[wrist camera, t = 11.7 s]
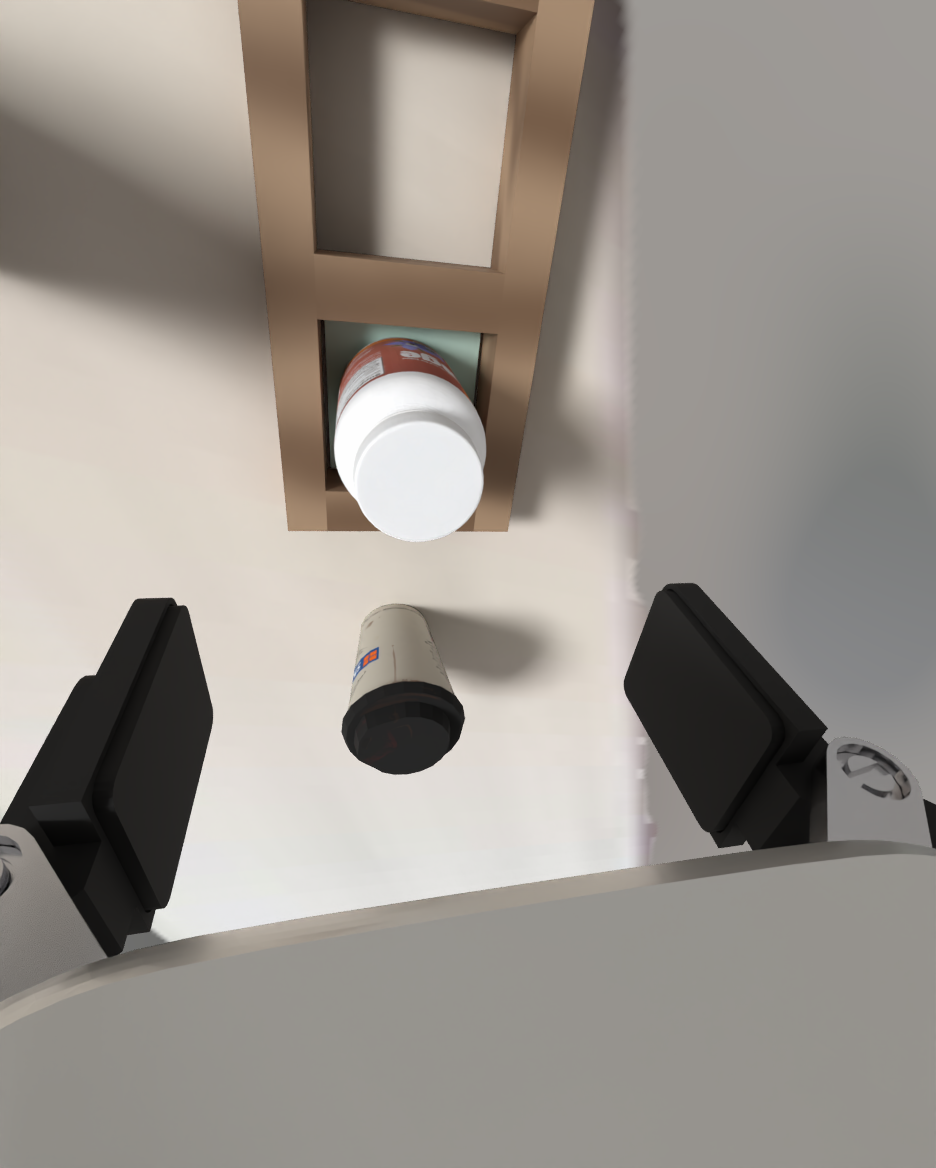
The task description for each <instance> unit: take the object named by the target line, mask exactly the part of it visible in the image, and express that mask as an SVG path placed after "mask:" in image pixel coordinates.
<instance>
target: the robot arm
mask: <svg viewBox="0 0 936 1168" xmlns="http://www.w3.org/2000/svg"><path fill="white" fill-rule="evenodd" d="M624 690H625V694H626V696H627V698H628V700H629V701H630V703H631V705H632V707H633V708H634V710H635V712H636V714H637V715H638V717H639V719H640V721H641V722H642V724H643V726H644V728H645V730H646V731H647V733H648V735H649V737H650V738H651V740H652V742H653V744H654V745H655V747H656V749H657V751H658V753H659V754H660V756H661V758H662V759H663V761H664V763H665V765H666V767H667V768H668V770H669V772H670V774H671V775H672V777H673V779H674V781H675V782H676V784H677V786H678V788H679V790H680V791H681V793H682V795H683V797H684V798H685V800H686V802H687V804H688V805H689V807H690V809H691V811H692V813H693V814H694V816H695V818H696V820H697V821H698V823H699V825H700V826H701V828H702V829H703V830H705V831H706V832H710V834H711V836H712V837H713V839H714V841H715V843H716V844H717V846H718V848H724V847H731V846H738V845H743V844H744V842H745V841H746V840H747V842H748V844H749V845H750V847H751V848H752V850H753V851H746V852H739V853H732V854H726V855H718V856H712V857H704V858H697V859H690V860H683V861H677V862H670V863H662V864H656V865H648V866H641V867H635V868H628V869H621V870H614V871H607V872H601V873H594V874H587V875H581V876H574V877H567V878H560V879H554V880H547V881H540V882H534V883H527V884H520V885H514V886H507V887H500V888H494V889H487V890H481V891H474V892H467V893H461V894H454V895H448V896H441V897H435V898H428V899H422V900H415V901H409V902H403V903H396V904H390V905H383V906H377V907H370V908H364V909H357V910H351V911H344V912H338V913H332V914H325V915H319V916H312V917H306V918H300V919H294V920H288V921H283V922H277V923H271V924H265V925H259V926H254V927H248V928H242V929H236V930H230V931H224V932H219V933H213V934H207V935H201V936H196V937H191V938H187V939H182V940H177V941H173V942H168V943H164V944H159V945H155V946H151V947H145V948H141V949H136V950H133V951H129V952H126V953H123V954H120V953H121V952H122V951H123V948H124V944H125V941H126V937H127V935H131V934H137V933H144V932H150V929H151V926H152V922H153V918H154V914H155V910H156V909H162V908H165V907H166V906H167V904H168V902H169V899H170V896H171V892H172V888H173V884H174V880H175V876H176V871H177V867H178V863H179V859H180V855H181V851H182V847H183V843H184V839H185V835H186V831H187V827H188V823H189V818H190V814H191V810H192V806H193V802H194V798H195V794H196V790H197V786H198V782H199V778H200V774H201V770H202V766H203V761H204V757H205V753H206V749H207V745H208V741H209V737H210V733H211V729H212V724H213V708H212V704H211V700H210V695H209V691H208V687H207V683H206V679H205V675H204V671H203V667H202V663H201V659H200V655H199V651H198V647H197V643H196V639H195V635H194V631H193V627H192V623H191V619H190V615H189V611H188V608H187V607H186V606H184V605H182V606H177V604H176V602H175V600H174V599H173V598H146V599H136V600H135V601H134V602H133V604H132V606H131V608H130V610H129V611H128V613H127V615H126V617H125V619H124V621H123V623H122V625H121V627H120V629H119V631H118V633H117V635H116V637H115V639H114V641H113V643H112V645H111V647H110V648H109V650H108V652H107V654H106V656H105V658H104V660H103V662H102V664H101V666H100V668H99V670H98V672H97V674H96V675H91V676H84V677H83V678H81V679H80V680H79V681H78V683H77V684H76V685H75V687H74V689H73V690H72V692H71V694H70V696H69V698H68V700H67V701H66V703H65V705H64V707H63V709H62V711H61V712H60V714H59V716H58V718H57V720H56V722H55V723H54V725H53V727H52V729H51V731H50V733H49V734H48V736H47V738H46V740H45V742H44V744H43V745H42V747H41V749H40V751H39V753H38V755H37V757H36V758H35V760H34V762H33V764H32V766H31V768H30V769H29V771H28V773H27V775H26V777H25V779H24V780H23V782H22V784H21V786H20V788H19V790H18V791H17V793H16V795H15V797H14V799H13V801H12V802H11V804H10V806H9V808H8V810H7V812H6V813H5V815H4V817H3V819H2V821H1V823H0V1168H936V805H935V804H933V803H931V802H929V801H927V800H925V799H923V796H922V791H921V788H920V786H919V783H918V781H917V779H916V778H915V776H914V775H913V774H912V773H911V771H910V770H909V769H908V768H907V767H906V766H905V765H904V764H903V763H902V762H901V761H900V760H899V759H898V758H896V757H895V756H893V755H892V754H890V753H889V752H887V751H886V750H884V749H883V748H880V747H879V746H876V745H874V744H872V743H870V742H868V741H864V740H861V739H857V738H851V737H841V738H836V739H834V740H833V741H831V742H830V743H829V744H828V743H827V742H826V741H825V740H824V739H823V738H822V735H823V734H824V733H825V731H826V730H827V729H828V728H827V727H826V726H825V725H824V723H823V722H822V721H821V720H820V719H819V718H818V717H817V716H816V715H815V714H814V712H813V711H812V710H811V709H810V708H809V707H808V706H807V705H806V704H805V703H804V701H803V700H802V699H801V698H800V697H799V696H798V695H797V694H796V693H795V692H794V691H793V689H792V688H791V687H790V686H789V685H788V684H787V683H786V682H785V681H784V679H783V678H782V677H781V676H780V675H779V674H778V673H777V672H776V671H775V670H774V668H773V667H772V666H771V665H770V664H769V663H768V662H767V661H766V660H765V659H764V658H763V656H762V655H761V654H760V653H759V652H758V651H757V650H756V649H755V648H754V646H753V645H752V644H751V643H750V642H749V641H748V640H747V639H746V638H745V637H744V635H743V634H742V633H741V632H740V631H739V630H738V629H737V628H736V627H735V626H734V624H733V623H732V622H731V621H730V620H729V619H728V618H727V617H726V616H725V615H724V613H723V612H722V611H721V610H720V609H719V608H718V607H717V606H716V605H715V604H714V602H713V601H712V600H711V599H710V598H709V597H708V596H707V595H706V594H705V593H704V592H703V590H702V589H701V588H700V587H699V586H698V585H696V584H693V583H681V584H680V583H678V584H668V585H666V586H665V587H664V588H663V590H662V591H659V592H658V593H657V594H656V596H655V598H654V601H653V604H652V606H651V609H650V612H649V614H648V617H647V620H646V622H645V625H644V628H643V630H642V633H641V636H640V638H639V641H638V644H637V646H636V649H635V652H634V654H633V657H632V660H631V662H630V665H629V668H628V671H627V673H626V676H625V679H624Z"/></svg>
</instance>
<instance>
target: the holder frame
mask: <svg viewBox="0 0 936 1168" xmlns="http://www.w3.org/2000/svg"><path fill="white" fill-rule="evenodd" d="M347 1H352V2H357V3H362V4H367V5H372V6H377V7H382V8H387V9H392V10H397V11H402V12H407V13H412V14H417V15H421V16H426V17H431V18H436V19H441V20H446V21H451V22H456V23H461V24H466V25H471V26H476V27H481V28H486V29H491V30H496V31H501V32H506V33H510V34H515V35H516V40H515V49H514V58H513V67H512V77H511V86H510V95H509V104H508V113H507V122H506V131H505V140H504V149H503V159H502V168H501V177H500V186H499V195H498V204H497V213H496V222H495V232H494V241H493V250H492V259H491V268H488V267H479V266H469V265H460V264H451V263H442V262H432V261H423V260H414V259H404V258H395V257H386V256H377V255H367V254H358V253H349V252H340V251H330V250H321V249H317V231H316V209H315V187H314V165H313V144H312V122H311V100H310V78H309V56H308V34H307V12H306V0H238V9H239V19H240V30H241V40H242V51H243V61H244V72H245V82H246V93H247V103H248V114H249V124H250V135H251V145H252V156H253V166H254V177H255V187H256V198H257V208H258V219H259V229H260V240H261V250H262V261H263V271H264V282H265V292H266V303H267V313H268V323H269V334H270V344H271V355H272V365H273V376H274V386H275V397H276V407H277V418H278V428H279V439H280V449H281V460H282V470H283V481H284V491H285V502H286V512H287V523H288V531H380V530H379V529H377V528H376V527H375V526H374V525H373V524H372V523H371V522H370V521H369V520H368V519H367V518H366V516H365V515H364V514H363V512H362V510H361V509H360V506H359V504H358V502H357V500H356V499H355V498H354V497H353V496H352V495H351V494H350V493H349V491H348V490H347V488H346V487H345V485H344V483H343V482H342V480H341V477H340V475H339V473H338V469H333V468H327V450H326V428H325V406H324V384H323V362H322V340H321V320H325V341H326V365H327V389H328V413H329V437H330V461H331V467H337V466H336V461H335V454H334V438H335V429H336V418H337V406H338V394H339V387H340V381H341V378H342V375H343V373H344V371H345V368H346V367H347V365H348V363H349V362H350V360H351V359H352V358H353V357H354V356H355V355H356V353H358V352H359V351H360V350H361V349H362V348H364V347H365V346H367V345H368V344H370V343H372V342H375V341H377V340H381V339H384V338H390V337H403V338H409V339H412V340H416V341H419V342H421V343H423V344H425V345H427V346H429V347H430V348H432V349H433V350H435V351H436V352H437V353H438V354H439V355H440V356H441V357H442V358H443V359H444V360H445V361H446V363H447V364H448V365H449V367H450V368H451V370H452V372H453V373H454V375H455V377H456V378H457V380H458V381H459V383H460V384H461V386H462V388H463V389H464V391H465V392H466V394H467V396H468V397H469V399H470V401H471V402H472V404H473V401H474V392H475V383H476V373H477V364H478V355H479V345H480V336H481V333H483V341H482V350H481V359H480V368H479V377H478V387H477V396H476V405H475V409H476V411H477V413H478V415H479V417H480V420H481V422H482V425H483V428H484V433H485V438H486V459H485V465H484V468H483V475H484V484H483V491H482V495H481V499H480V502H479V504H478V506H477V508H476V510H475V511H474V513H473V514H472V516H471V517H470V518H469V519H468V520H467V522H466V523H465V524H463V525H462V526H461V527H460V528H458V529H457V530H456V531H489V532H508V526H509V519H510V513H511V507H512V501H513V495H514V489H515V483H516V477H517V471H518V465H519V458H520V452H521V446H522V440H523V434H524V428H525V422H526V416H527V410H528V404H529V397H530V391H531V385H532V379H533V373H534V367H535V361H536V355H537V349H538V343H539V336H540V330H541V324H542V318H543V312H544V306H545V300H546V294H547V288H548V282H549V275H550V269H551V263H552V257H553V251H554V245H555V239H556V233H557V227H558V221H559V214H560V208H561V202H562V196H563V190H564V184H565V178H566V172H567V166H568V160H569V154H570V147H571V141H572V135H573V129H574V123H575V117H576V111H577V105H578V99H579V93H580V86H581V80H582V74H583V68H584V62H585V56H586V50H587V44H588V38H589V32H590V25H591V19H592V13H593V7H594V1H595V0H347Z"/></svg>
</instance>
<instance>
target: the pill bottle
mask: <svg viewBox="0 0 936 1168" xmlns="http://www.w3.org/2000/svg"><path fill="white" fill-rule="evenodd" d="M334 454H335V461H336V466H337V469H338V473H339V475H340V477H341V480H342V482H343V483H344V485H345V487H346V488H347V490H348V491H349V493H350V494H351V495H352V496H353V497H354V498H355V499H356V500H357V502H358V504H359V506H360V509H361V510H362V512H363V514H364V515H365V516H366V518H367V519H368V520H369V521H370V522H371V523H372V524H373V525H374V526H375V527H376V528H377V529H379V530H380V531H382V532H383V533H385V534H387V535H389V536H391V537H394V538H396V539H400V540H404V541H411V542H426V541H431V540H436V539H439V538H442V537H444V536H447V535H449V534H451V533H452V532H454V531H456V530H457V529H458V528H460V527H461V526H462V525H463V524H465V523H466V522H467V520H468V519H469V518H470V517H471V516H472V514H473V513H474V511H475V510H476V508H477V506H478V504H479V502H480V499H481V495H482V491H483V484H484V475H483V468H484V465H485V459H486V438H485V433H484V428H483V425H482V422H481V420H480V417H479V415H478V413H477V411H476V409H475V407H474V406H473V404H472V402H471V401H470V399H469V397H468V396H467V394H466V392H465V391H464V389H463V388H462V386H461V384H460V383H459V381H458V380H457V378H456V377H455V375H454V373H453V372H452V370H451V368H450V367H449V365H448V364H447V363H446V361H445V360H444V359H443V358H442V357H441V356H440V355H439V354H438V353H437V352H436V351H435V350H433V349H432V348H430V347H429V346H427V345H425V344H423V343H421V342H419V341H416V340H412V339H409V338H403V337H390V338H384V339H381V340H377V341H375V342H372V343H370V344H368V345H367V346H365V347H364V348H362V349H361V350H360V351H359V352H358V353H356V355H355V356H354V357H353V358H352V359H351V360H350V362H349V363H348V365H347V367H346V368H345V371H344V373H343V375H342V378H341V381H340V387H339V394H338V406H337V418H336V429H335V438H334Z"/></svg>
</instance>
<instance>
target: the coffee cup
mask: <svg viewBox="0 0 936 1168" xmlns="http://www.w3.org/2000/svg"><path fill="white" fill-rule="evenodd" d="M464 720H465V716H464V710H463V706H462V704H461V703H460V702H459V700H458V699H457V697H456V696H455V695H454V692H453V690H452V687H451V685H450V682H449V679H448V677H447V674H446V672H445V669H444V667H443V664H442V661H441V659H440V656H439V654H438V651H437V648H436V646H435V643H434V641H433V638H432V636H431V633H430V630H429V628H428V625H427V623H426V620H425V619H424V617H423V616H422V614H421V613H420V612H419V611H417V610H416V609H414V608H413V607H410V606H407V605H404V604H390V605H385V606H381V607H379V608H377V609H375V610H373V611H372V612H371V613H370V614H369V615H368V616H366V618H365V620H364V621H363V623H362V626H361V632H360V638H359V645H358V651H357V658H356V664H355V670H354V677H353V683H352V689H351V696H350V702H349V709H348V711H347V713H346V715H345V716H344V718H343V723H342V735H343V737H344V740H345V743H346V745H347V747H348V748H349V750H350V752H351V753H352V754H353V755H354V756H355V757H356V758H357V759H358V760H359V761H361V762H363V763H365V764H367V765H369V766H372V767H374V768H376V769H377V770H379V771H381V772H384V773H389V774H394V775H396V774H411V773H415V772H420V771H422V770H424V769H427V768H429V767H431V766H433V765H434V764H435V763H437V762H438V761H439V760H440V759H441V758H442V757H443V756H444V755H445V754H446V753H448V752H449V751H450V750H451V749H452V748H453V746H454V745H455V744H456V743H457V741H458V740H459V738H460V734H461V731H462V727H463V724H464Z"/></svg>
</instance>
